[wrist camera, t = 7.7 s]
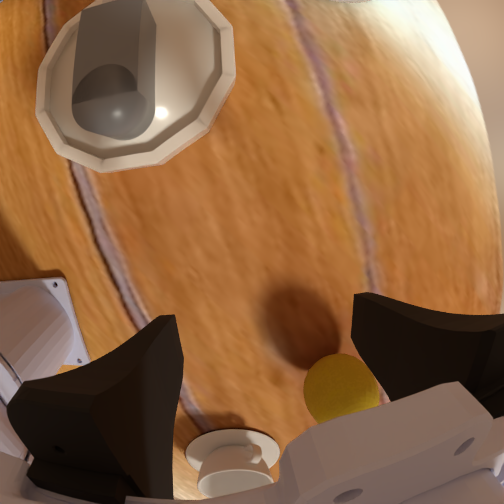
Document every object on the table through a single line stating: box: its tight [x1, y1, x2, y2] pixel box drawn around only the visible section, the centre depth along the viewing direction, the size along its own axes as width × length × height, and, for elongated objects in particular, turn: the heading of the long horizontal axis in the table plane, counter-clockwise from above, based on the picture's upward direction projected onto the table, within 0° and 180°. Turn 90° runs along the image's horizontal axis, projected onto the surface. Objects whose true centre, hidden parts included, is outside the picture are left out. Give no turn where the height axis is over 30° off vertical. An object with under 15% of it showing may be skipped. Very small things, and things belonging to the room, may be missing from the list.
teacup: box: [186, 429, 280, 498], centre depth 24 cm, size 10×10×5 cm
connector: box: [72, 0, 157, 141], centre depth 13 cm, size 4×10×4 cm, turn 3°
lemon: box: [303, 354, 379, 424], centre depth 20 cm, size 6×6×8 cm
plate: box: [35, 0, 236, 173], centre depth 16 cm, size 14×14×2 cm
